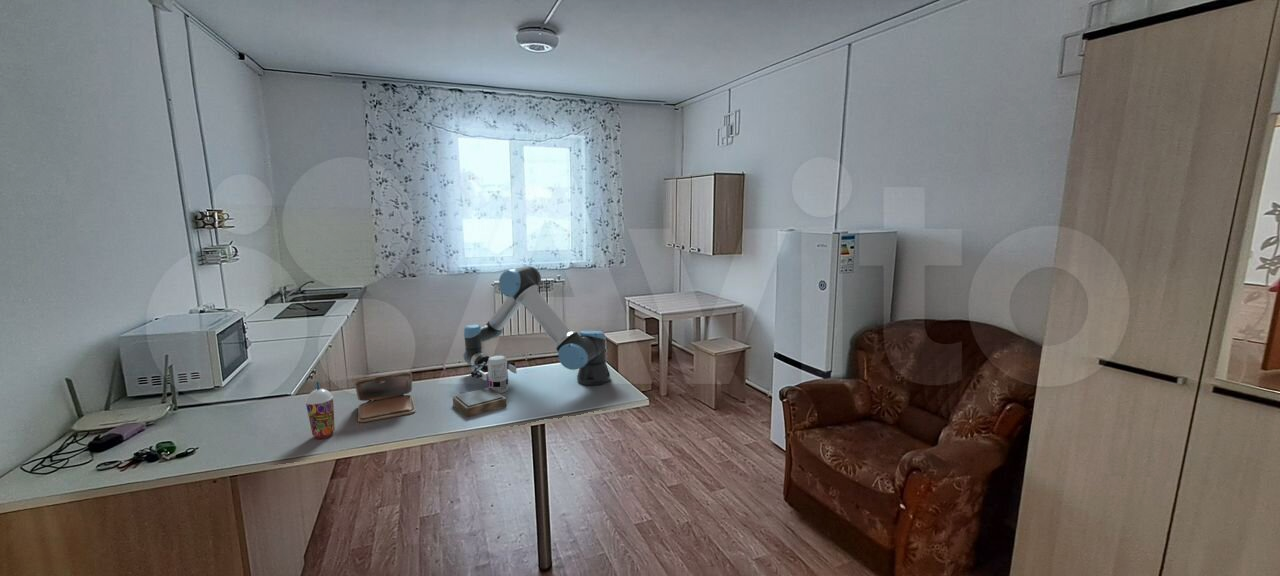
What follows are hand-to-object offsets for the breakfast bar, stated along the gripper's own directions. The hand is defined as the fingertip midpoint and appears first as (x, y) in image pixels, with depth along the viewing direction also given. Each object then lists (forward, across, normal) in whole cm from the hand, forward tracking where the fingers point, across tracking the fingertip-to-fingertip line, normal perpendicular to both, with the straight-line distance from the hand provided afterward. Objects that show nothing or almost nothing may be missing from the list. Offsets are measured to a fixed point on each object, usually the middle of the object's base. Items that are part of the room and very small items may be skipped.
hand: (501, 373), depth 217 cm
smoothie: (-2, +66, -9) cm, 67 cm away
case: (-13, +43, -9) cm, 46 cm away
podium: (+8, +13, -8) cm, 17 cm away
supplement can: (-3, 0, -9) cm, 9 cm away
